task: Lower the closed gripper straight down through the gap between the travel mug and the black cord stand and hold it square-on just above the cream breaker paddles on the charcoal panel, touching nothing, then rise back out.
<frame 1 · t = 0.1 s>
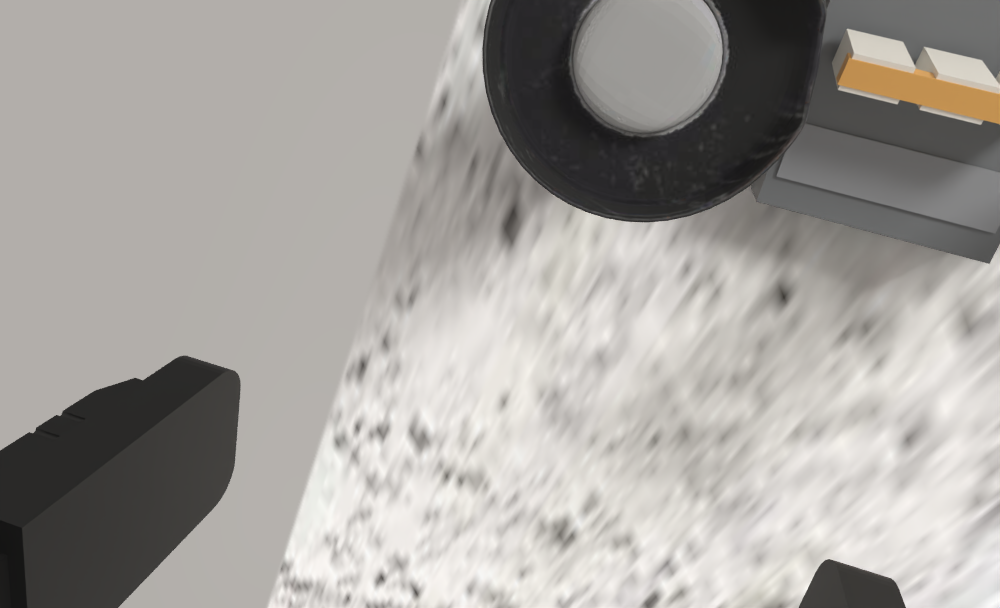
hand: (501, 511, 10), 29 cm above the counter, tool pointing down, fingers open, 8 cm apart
breaker panel: (920, 64, 33), on the counter
travel mug: (666, 37, 35), on the counter
breaker paddles: (951, 84, 28), point 5 cm above the counter, hinge at 15.0°
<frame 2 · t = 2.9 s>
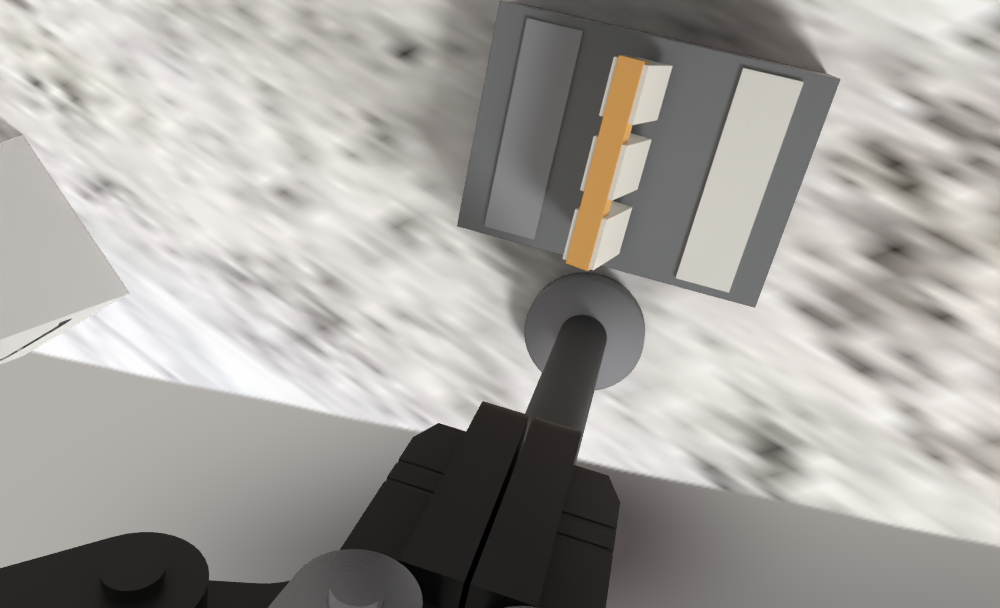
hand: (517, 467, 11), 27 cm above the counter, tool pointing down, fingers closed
breaker panel: (635, 148, 35), on the counter
grater: (24, 252, 46), on the counter
breaker paddles: (616, 164, 31), point 5 cm above the counter, hinge at 15.0°
cord stand: (585, 328, 39), on the counter
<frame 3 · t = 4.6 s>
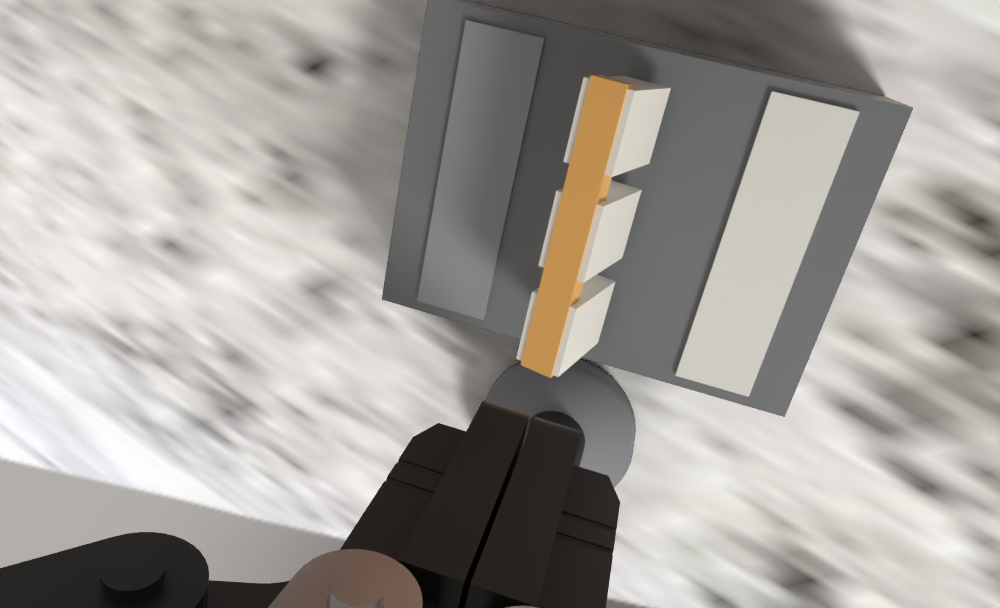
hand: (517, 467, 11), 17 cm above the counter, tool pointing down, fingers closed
breaker panel: (622, 194, 26), on the counter
breaker paddles: (591, 226, 22), point 5 cm above the counter, hinge at 15.0°
cord stand: (558, 423, 30), on the counter
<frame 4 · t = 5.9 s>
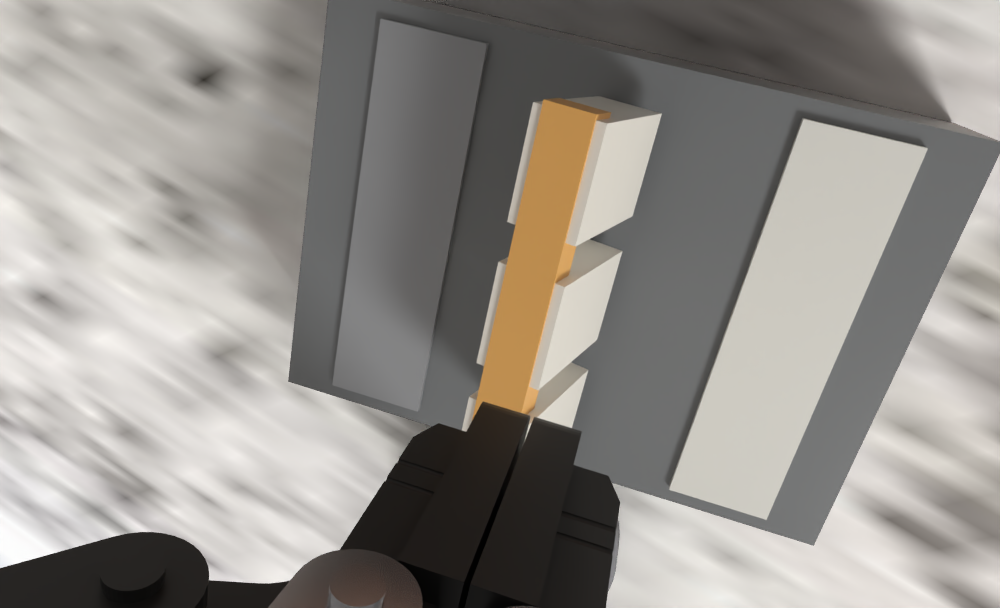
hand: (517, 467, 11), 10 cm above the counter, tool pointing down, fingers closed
breaker panel: (599, 246, 20), on the counter
breaker paddles: (552, 304, 16), point 5 cm above the counter, hinge at 15.0°
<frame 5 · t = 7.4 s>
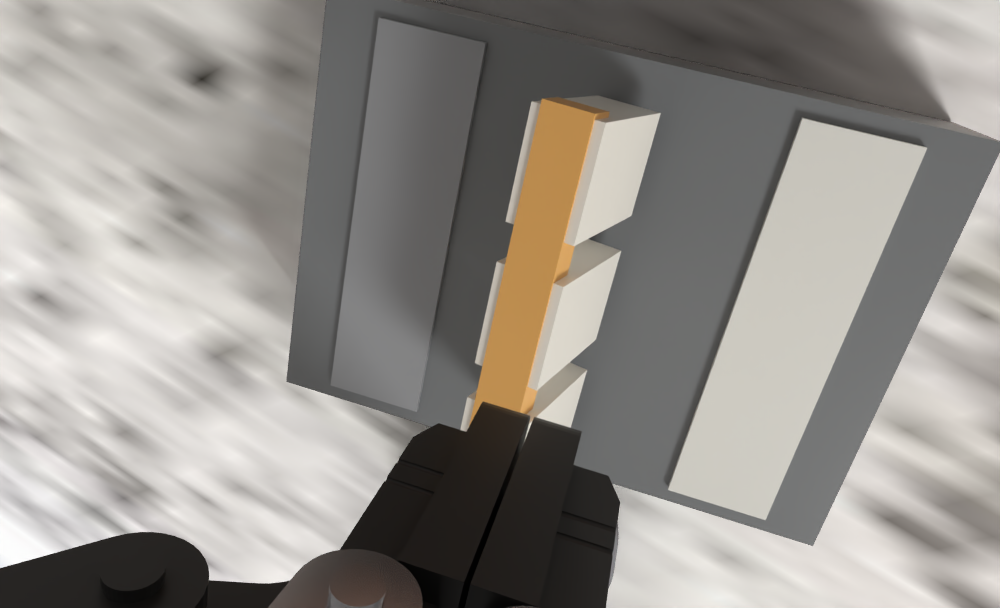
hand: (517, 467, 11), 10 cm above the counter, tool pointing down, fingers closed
breaker panel: (598, 245, 20), on the counter
breaker paddles: (550, 304, 16), point 5 cm above the counter, hinge at 15.0°
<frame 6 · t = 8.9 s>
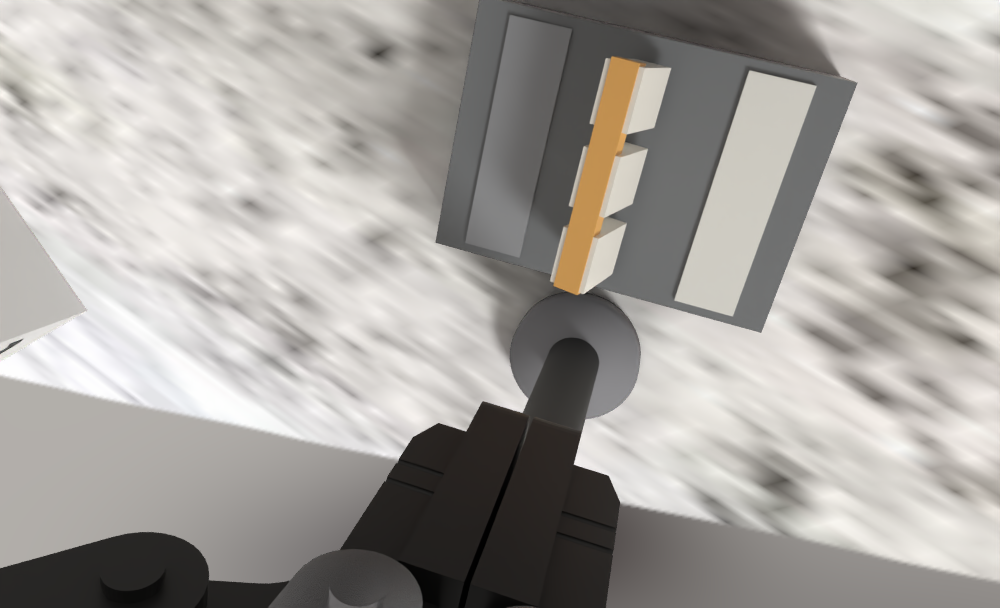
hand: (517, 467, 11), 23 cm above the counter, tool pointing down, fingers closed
breaker panel: (630, 157, 32), on the counter
breaker paddles: (609, 176, 28), point 5 cm above the counter, hinge at 15.0°
cord stand: (576, 351, 36), on the counter
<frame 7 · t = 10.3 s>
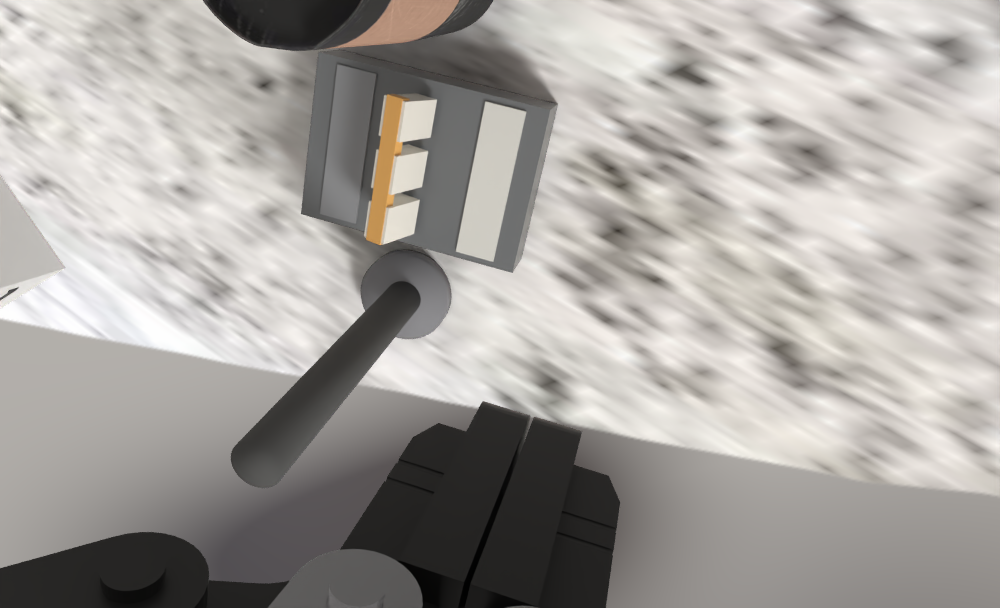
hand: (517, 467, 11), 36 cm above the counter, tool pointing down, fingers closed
breaker panel: (432, 156, 48), on the counter
breaker paddles: (399, 169, 43), point 5 cm above the counter, hinge at 15.0°
cord stand: (408, 291, 51), on the counter
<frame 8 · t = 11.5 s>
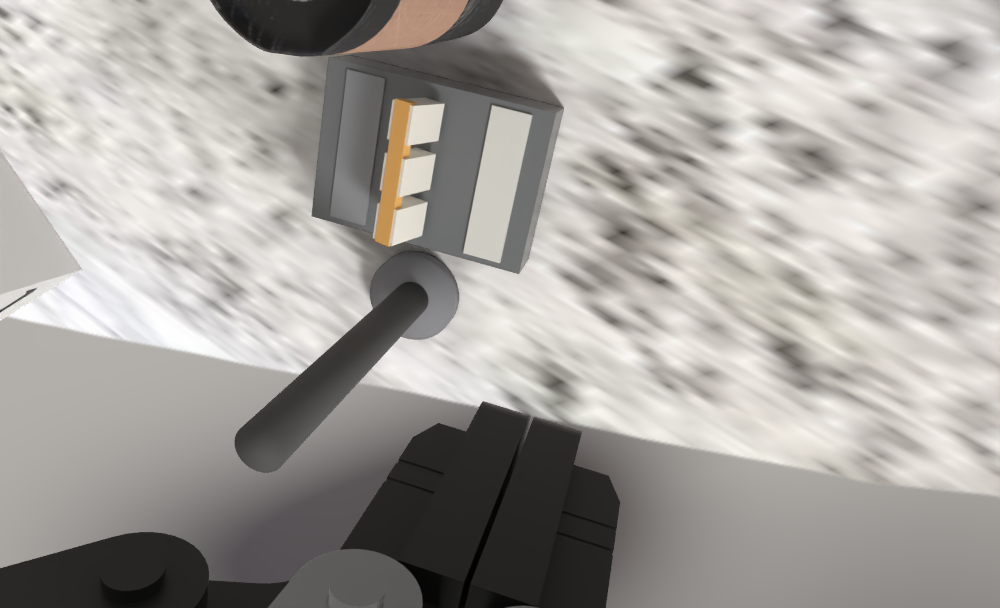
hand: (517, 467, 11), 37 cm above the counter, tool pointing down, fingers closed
breaker panel: (440, 159, 48), on the counter
grater: (1, 238, 59), on the counter
breaker paddles: (408, 171, 44), point 5 cm above the counter, hinge at 15.0°
cord stand: (417, 292, 52), on the counter
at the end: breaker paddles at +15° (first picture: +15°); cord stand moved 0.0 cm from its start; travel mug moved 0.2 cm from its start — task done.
